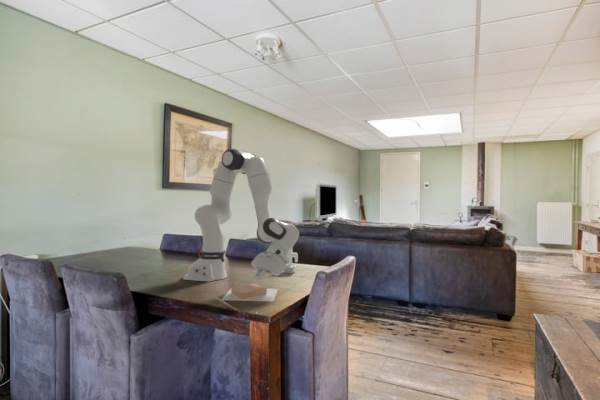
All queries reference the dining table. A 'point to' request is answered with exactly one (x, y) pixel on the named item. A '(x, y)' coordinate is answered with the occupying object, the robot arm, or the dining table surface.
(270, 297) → the mat
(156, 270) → the dining table surface
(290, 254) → the figurine
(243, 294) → the tile
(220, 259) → the robot arm
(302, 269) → the dining table surface
